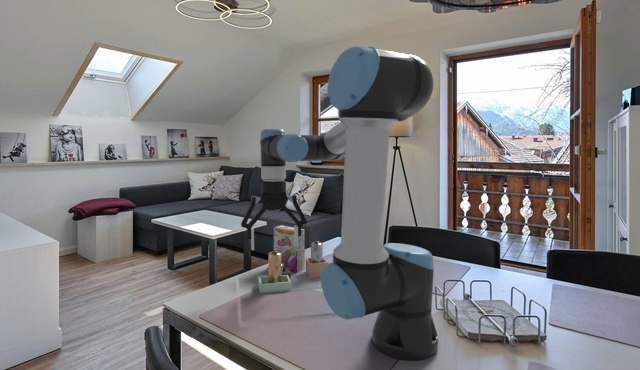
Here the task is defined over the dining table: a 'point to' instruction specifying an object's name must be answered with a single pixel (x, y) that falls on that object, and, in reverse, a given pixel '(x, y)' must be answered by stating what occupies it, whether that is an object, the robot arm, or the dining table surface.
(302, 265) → the candy bar box
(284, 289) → the battery sorting tray
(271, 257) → the copper cell
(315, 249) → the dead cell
